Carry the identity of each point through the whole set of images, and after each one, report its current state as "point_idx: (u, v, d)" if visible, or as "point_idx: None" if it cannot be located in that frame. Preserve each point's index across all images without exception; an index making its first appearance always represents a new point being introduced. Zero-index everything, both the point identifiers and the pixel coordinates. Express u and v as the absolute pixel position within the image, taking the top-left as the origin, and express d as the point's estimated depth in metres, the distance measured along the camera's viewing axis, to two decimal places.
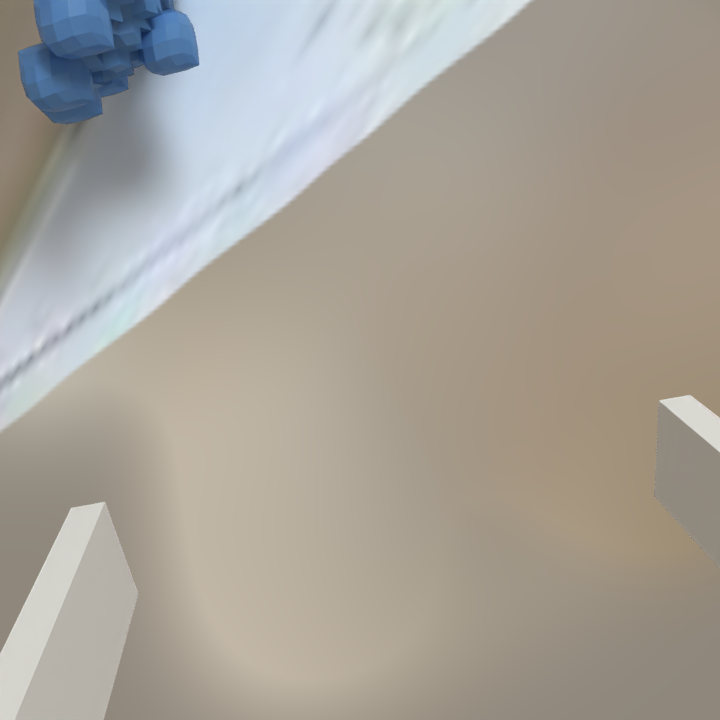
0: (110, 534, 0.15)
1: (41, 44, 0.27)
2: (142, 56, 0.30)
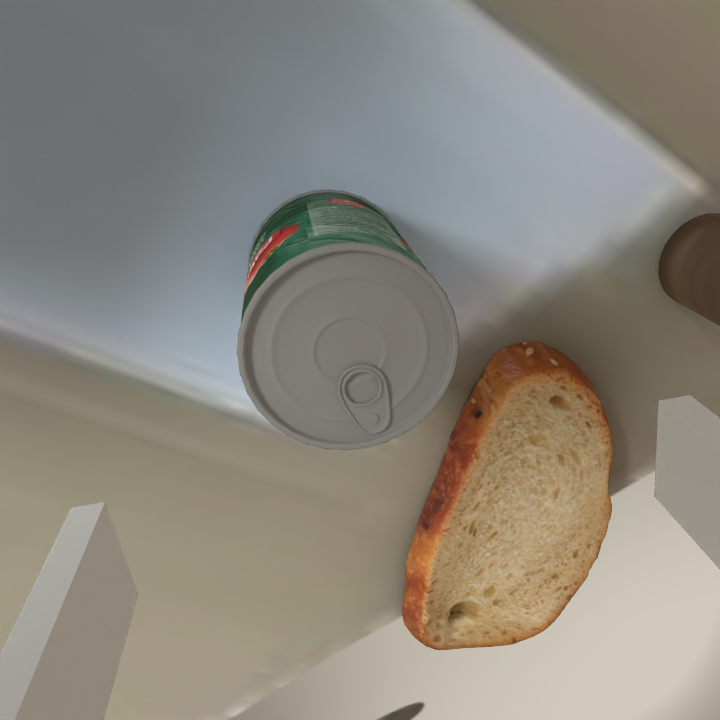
0: (110, 534, 0.15)
1: None
2: None
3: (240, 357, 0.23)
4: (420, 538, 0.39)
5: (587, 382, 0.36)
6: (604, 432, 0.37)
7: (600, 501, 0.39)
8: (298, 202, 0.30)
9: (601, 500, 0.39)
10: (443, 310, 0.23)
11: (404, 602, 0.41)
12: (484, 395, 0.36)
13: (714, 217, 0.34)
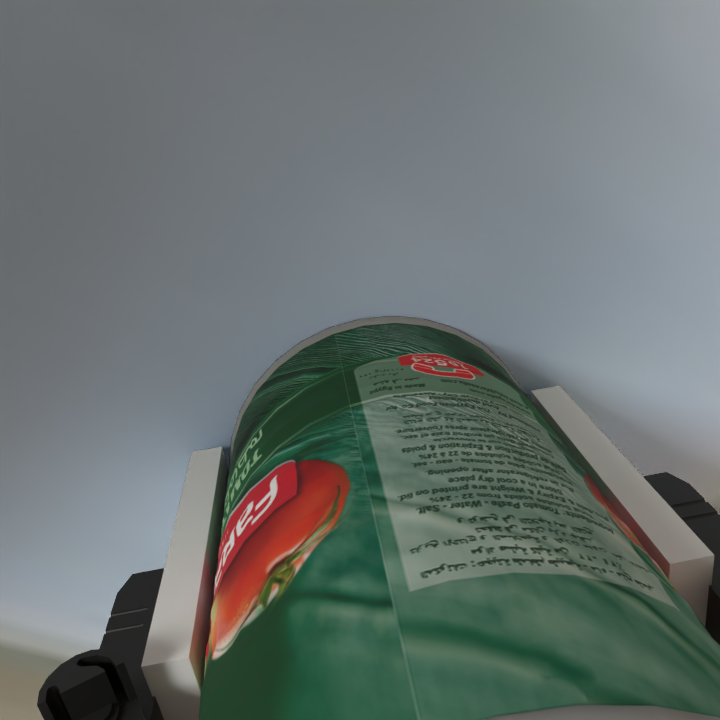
0: (227, 475, 0.16)
1: None
2: None
3: None
4: None
5: None
6: None
7: None
8: (333, 355, 0.14)
9: None
10: None
11: None
12: None
13: None
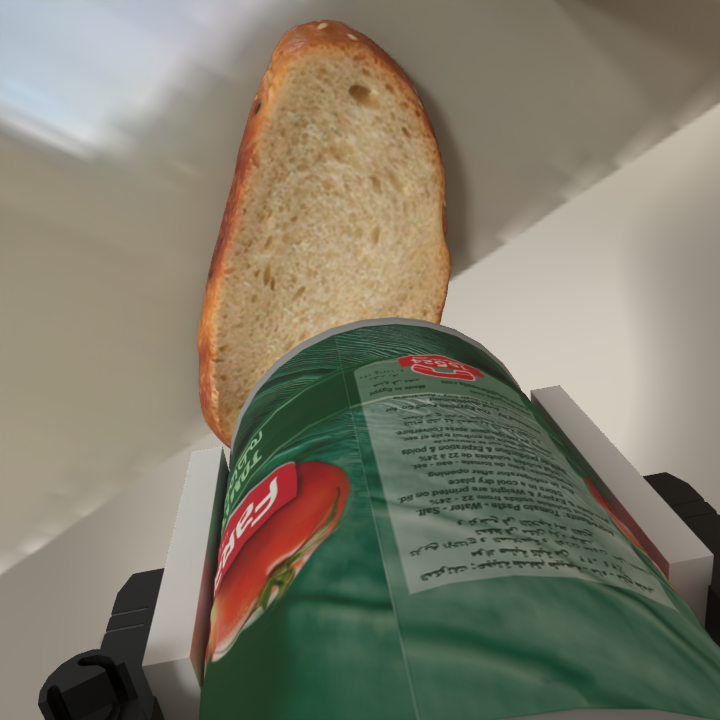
0: (227, 475, 0.16)
1: None
2: None
3: None
4: (206, 294, 0.31)
5: (401, 73, 0.28)
6: (428, 145, 0.29)
7: (433, 248, 0.31)
8: (333, 356, 0.14)
9: (435, 247, 0.31)
10: None
11: (199, 388, 0.33)
12: (265, 84, 0.28)
13: None
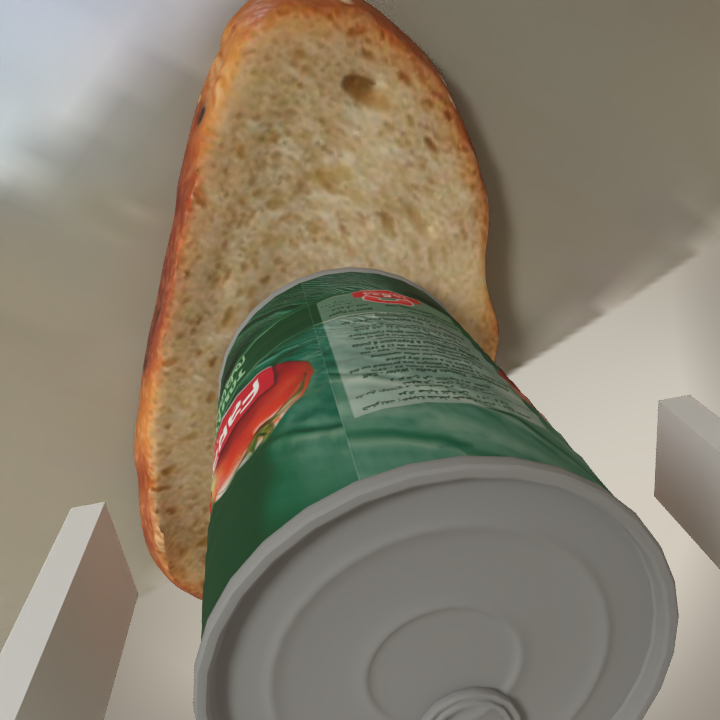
0: (110, 534, 0.15)
1: None
2: None
3: (201, 718, 0.10)
4: (141, 391, 0.21)
5: (422, 54, 0.19)
6: (465, 163, 0.19)
7: (473, 313, 0.21)
8: (300, 296, 0.17)
9: (476, 311, 0.21)
10: (648, 573, 0.11)
11: (141, 518, 0.23)
12: (211, 78, 0.18)
13: None
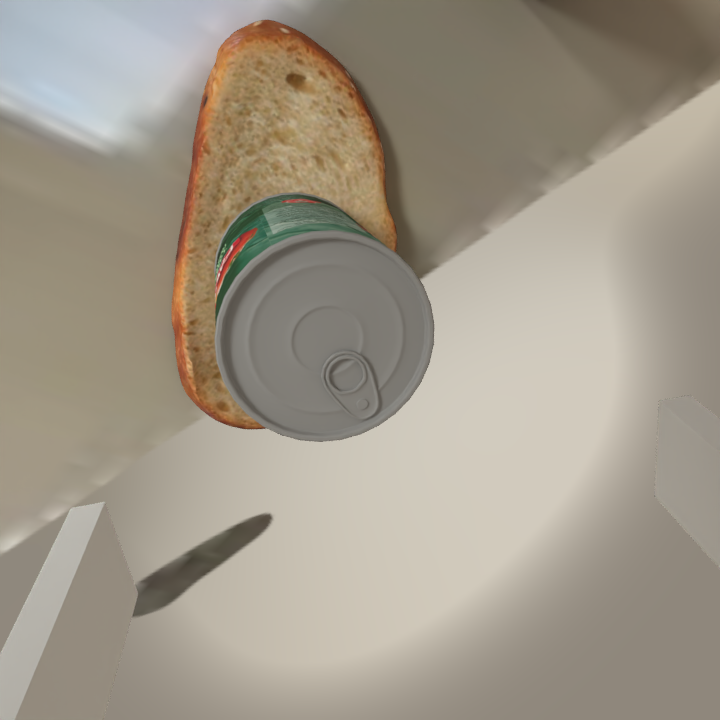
0: (110, 534, 0.15)
1: None
2: None
3: (220, 364, 0.23)
4: (175, 274, 0.34)
5: (333, 60, 0.31)
6: (364, 124, 0.32)
7: (378, 218, 0.34)
8: (253, 209, 0.30)
9: (379, 216, 0.34)
10: (412, 284, 0.23)
11: (177, 362, 0.36)
12: (210, 79, 0.31)
13: None
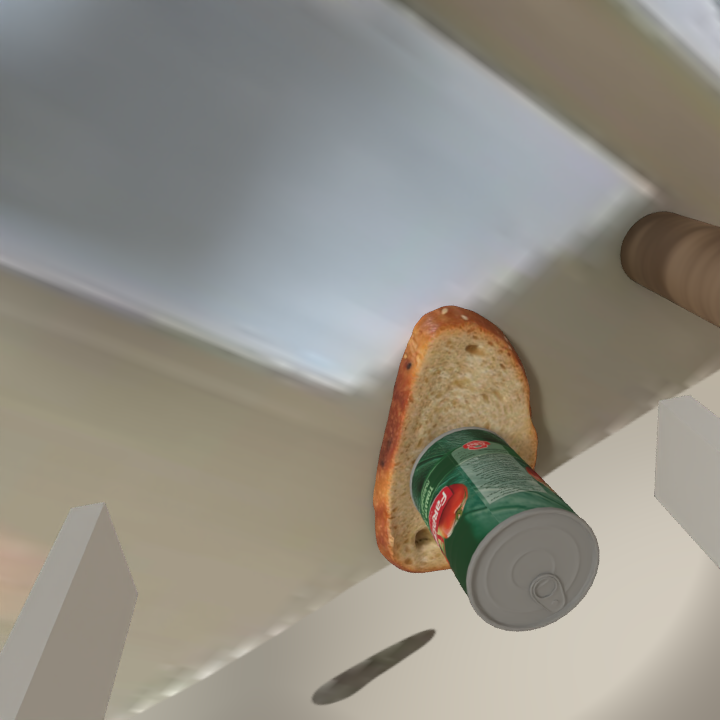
0: (110, 534, 0.15)
1: None
2: None
3: (471, 596, 0.36)
4: (379, 475, 0.47)
5: (496, 331, 0.45)
6: (517, 371, 0.45)
7: (525, 430, 0.47)
8: (441, 450, 0.44)
9: (526, 429, 0.47)
10: (584, 529, 0.36)
11: (376, 532, 0.49)
12: (412, 350, 0.44)
13: (662, 214, 0.43)
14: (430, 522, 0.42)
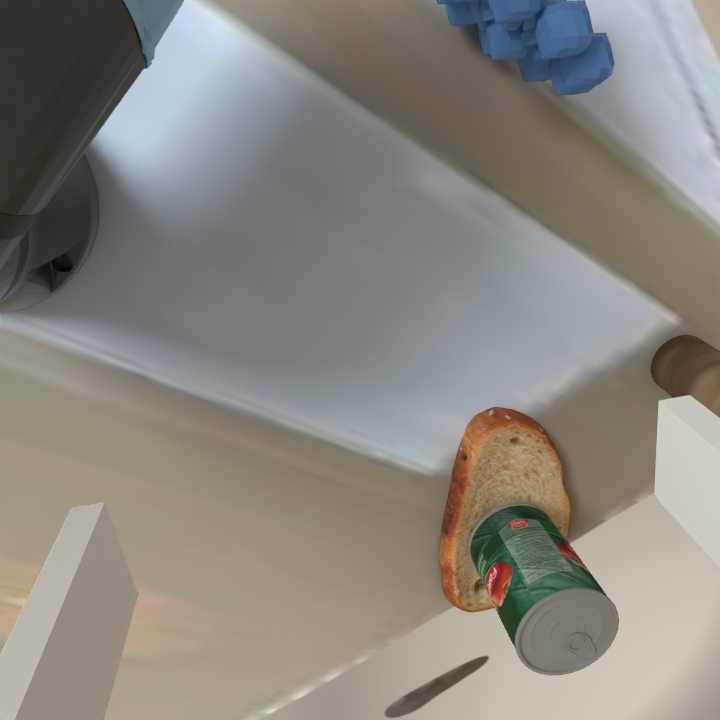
0: (110, 534, 0.15)
1: (566, 65, 0.36)
2: None
3: (519, 655, 0.48)
4: (444, 540, 0.59)
5: (533, 425, 0.55)
6: (552, 454, 0.56)
7: (560, 498, 0.58)
8: (490, 527, 0.55)
9: (561, 497, 0.58)
10: (603, 599, 0.47)
11: (442, 583, 0.61)
12: (466, 445, 0.55)
13: (685, 339, 0.54)
14: (486, 588, 0.53)
